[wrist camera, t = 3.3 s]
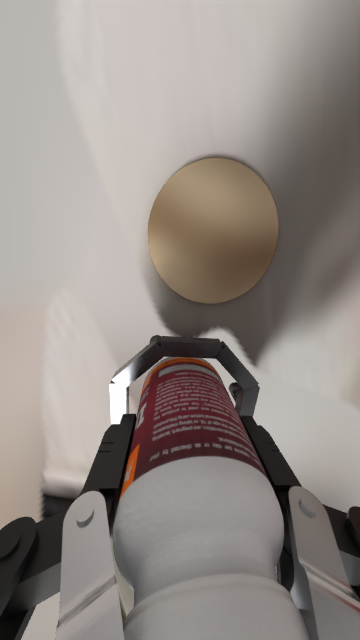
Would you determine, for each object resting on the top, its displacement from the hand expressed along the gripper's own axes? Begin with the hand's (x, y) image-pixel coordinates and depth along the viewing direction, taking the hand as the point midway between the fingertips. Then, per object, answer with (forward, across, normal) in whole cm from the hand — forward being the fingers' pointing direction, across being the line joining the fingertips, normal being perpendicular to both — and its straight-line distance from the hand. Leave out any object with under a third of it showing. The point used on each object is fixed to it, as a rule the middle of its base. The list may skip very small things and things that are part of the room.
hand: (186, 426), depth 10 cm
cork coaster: (+4, -1, -11) cm, 12 cm away
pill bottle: (+4, 0, 0) cm, 4 cm away
